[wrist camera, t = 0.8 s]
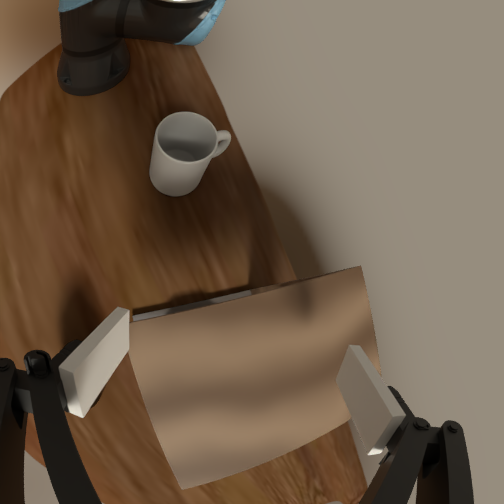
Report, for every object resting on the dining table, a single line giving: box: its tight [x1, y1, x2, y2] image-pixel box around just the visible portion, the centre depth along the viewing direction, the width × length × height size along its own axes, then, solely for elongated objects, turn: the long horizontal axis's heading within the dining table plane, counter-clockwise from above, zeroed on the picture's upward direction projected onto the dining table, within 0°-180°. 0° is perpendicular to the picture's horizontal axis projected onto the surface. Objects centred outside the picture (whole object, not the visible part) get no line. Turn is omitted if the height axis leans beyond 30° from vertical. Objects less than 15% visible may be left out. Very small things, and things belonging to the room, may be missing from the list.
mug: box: [149, 112, 231, 196], centre depth 39 cm, size 12×8×11 cm
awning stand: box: [128, 266, 382, 490], centre depth 30 cm, size 13×20×24 cm, turn 105°
